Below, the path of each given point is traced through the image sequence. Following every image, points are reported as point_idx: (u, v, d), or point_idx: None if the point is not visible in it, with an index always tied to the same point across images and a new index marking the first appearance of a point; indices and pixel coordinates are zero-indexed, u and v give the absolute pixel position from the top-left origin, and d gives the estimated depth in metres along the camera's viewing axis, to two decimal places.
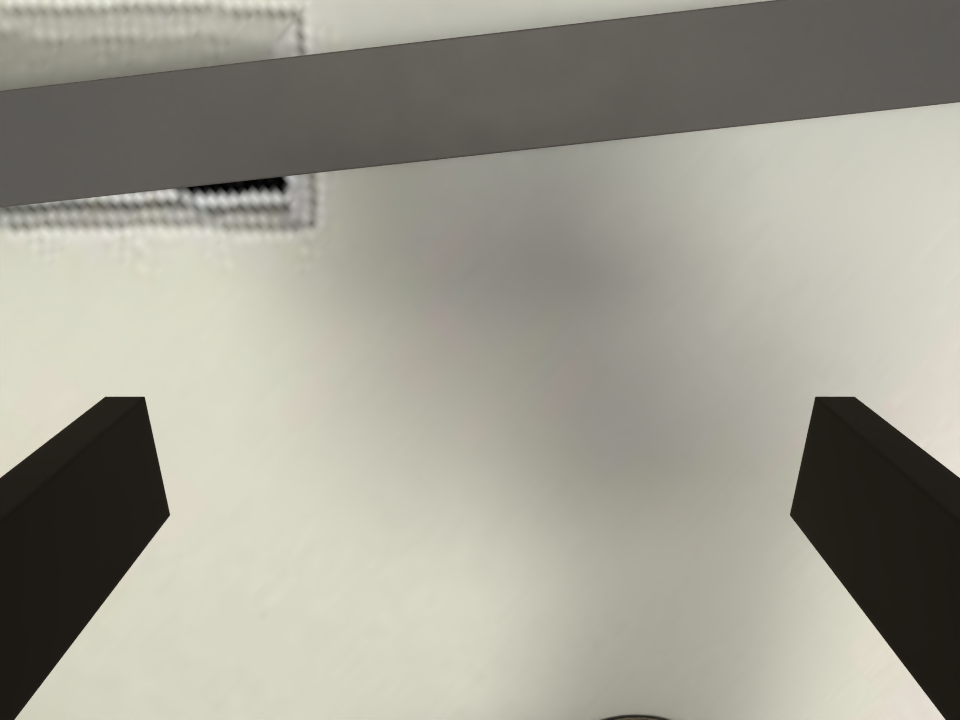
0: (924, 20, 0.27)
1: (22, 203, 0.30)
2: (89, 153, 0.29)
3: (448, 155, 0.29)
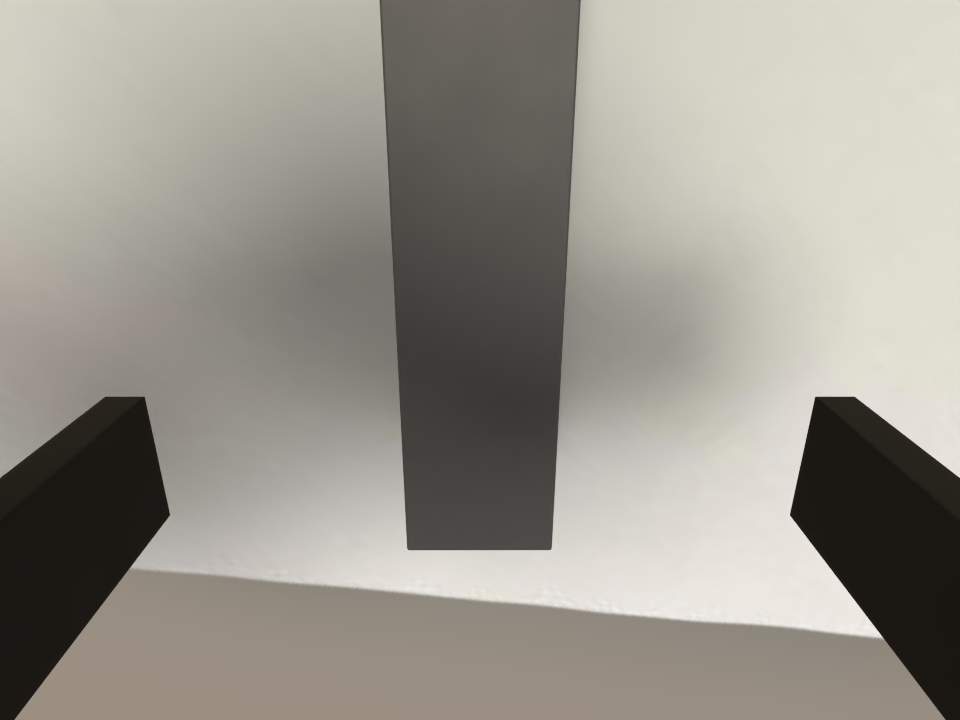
0: None
1: None
2: None
3: None
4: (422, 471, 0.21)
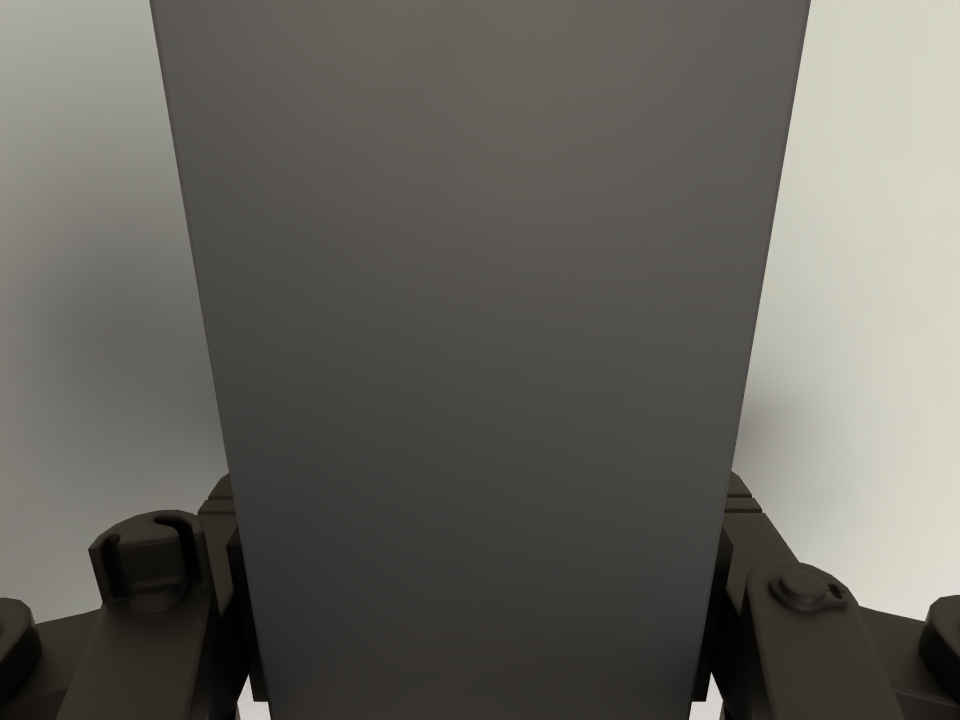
0: None
1: None
2: None
3: None
4: None
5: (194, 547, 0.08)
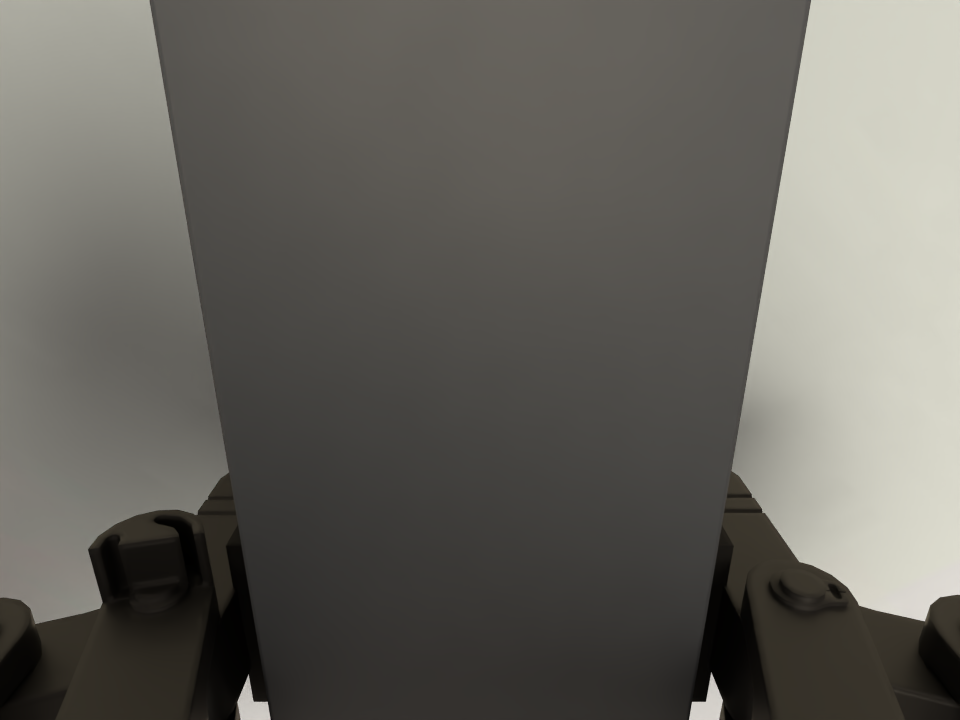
0: None
1: None
2: None
3: None
4: None
5: (194, 547, 0.08)
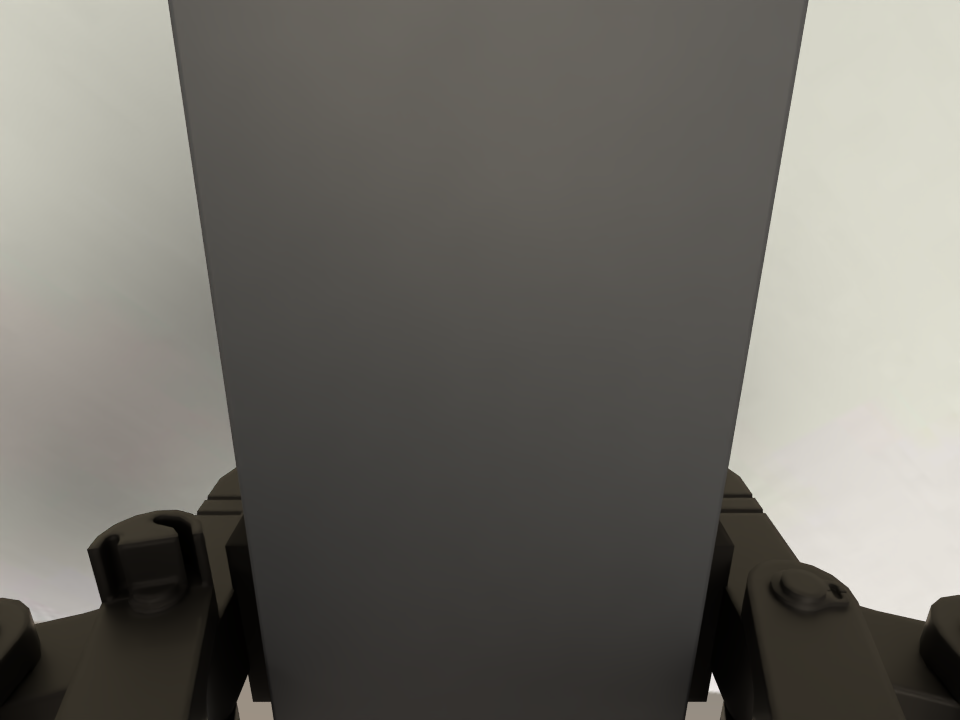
0: None
1: None
2: None
3: None
4: None
5: (193, 547, 0.08)
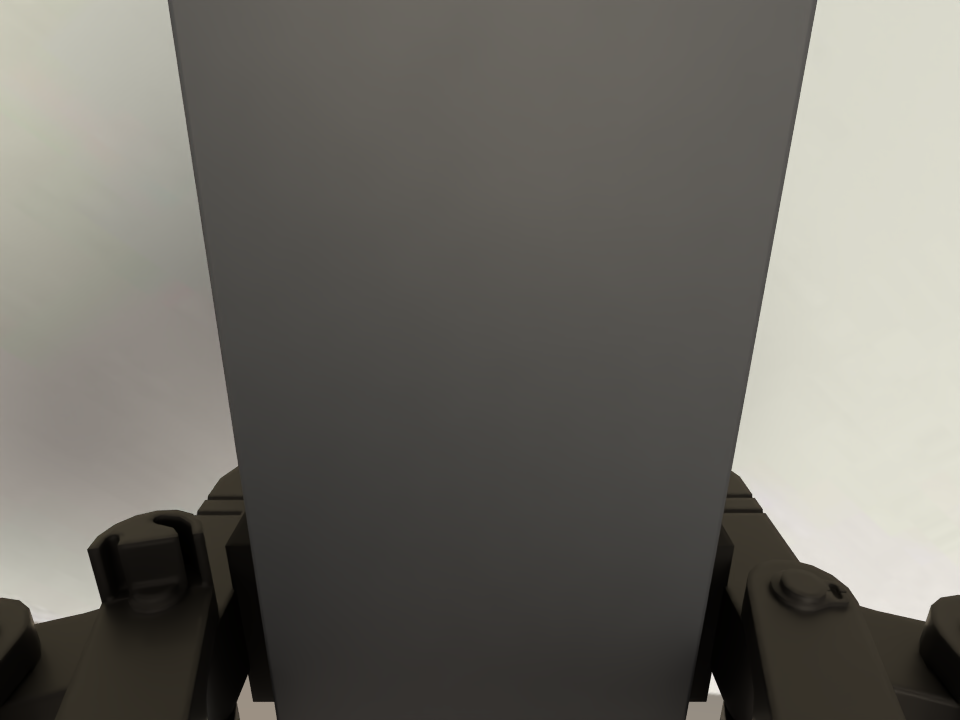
0: None
1: None
2: None
3: None
4: None
5: (194, 547, 0.08)
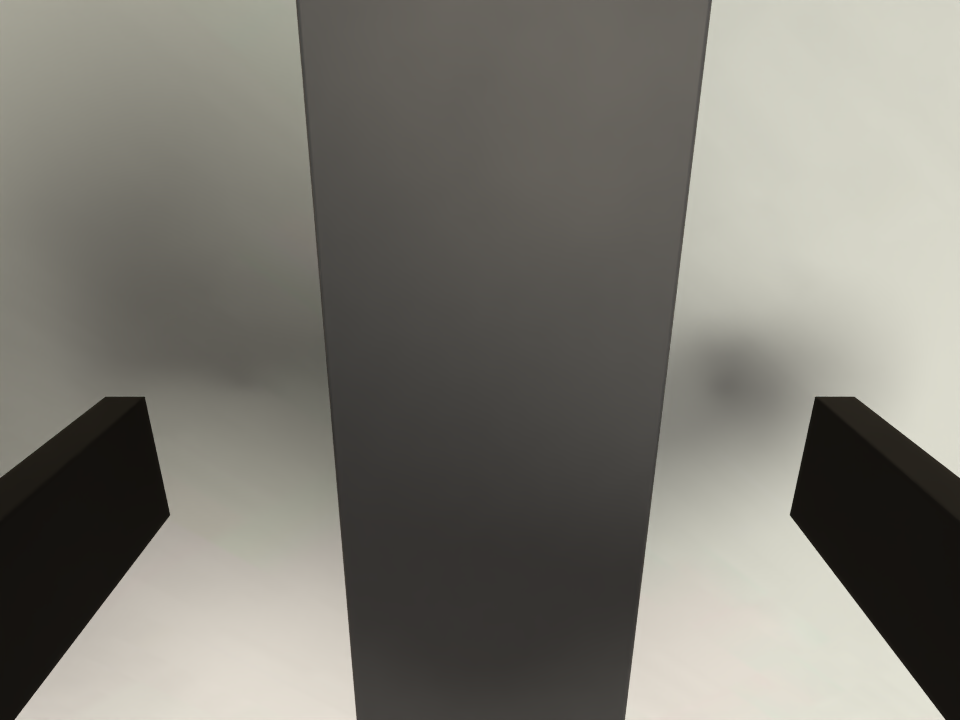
0: None
1: None
2: None
3: None
4: None
5: None
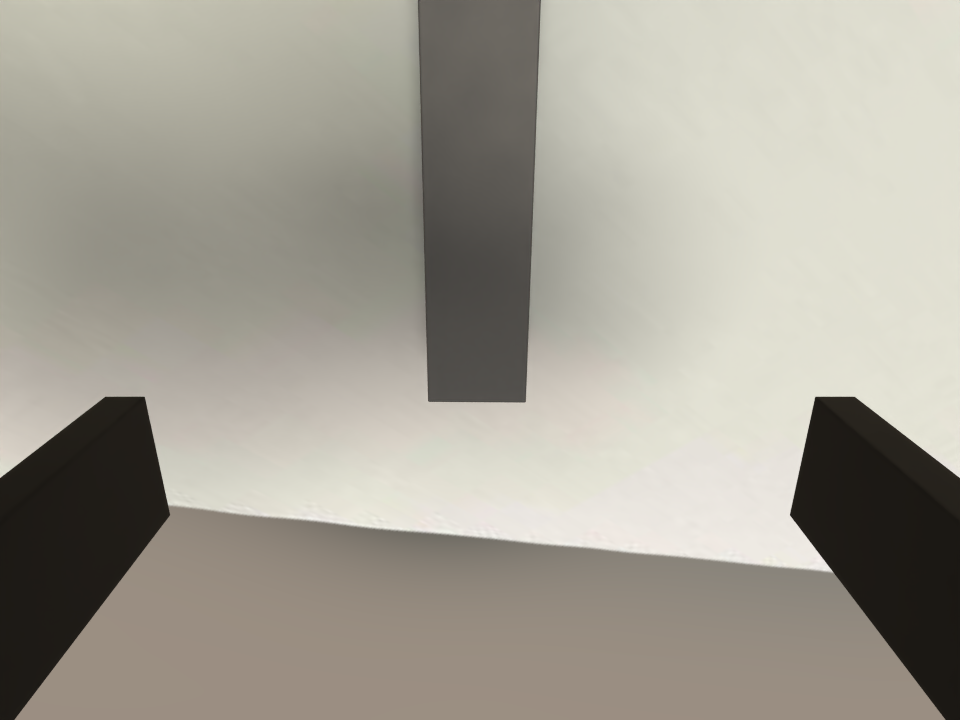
0: (504, 18, 0.26)
1: None
2: None
3: None
4: (439, 344, 0.31)
5: None
